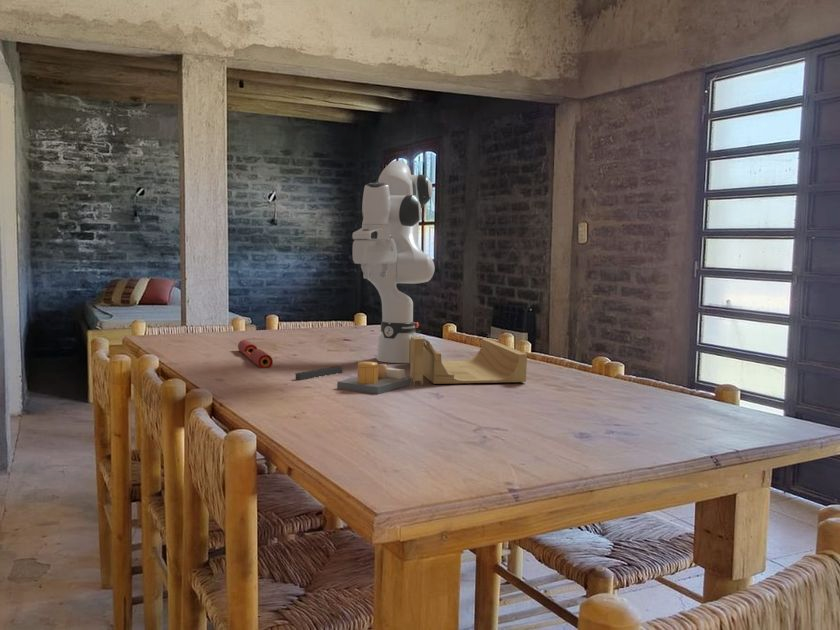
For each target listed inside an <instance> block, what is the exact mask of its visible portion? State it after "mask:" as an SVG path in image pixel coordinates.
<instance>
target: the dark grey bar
mask: <svg viewBox="0 0 840 630" xmlns="http://www.w3.org/2000/svg"><path fill="white" fill-rule="evenodd" d="M336 373H338V374H342V373H343V366H332V367H331V366H330V367H326V368H320V369H315V370H308V371H303V372H296V373H295V380H296V381H304V380H310V379H314V377H316V378H320V377H319V376H321V377H326V376H325V375H327V376H331V375H330V374H332V375H337V374H336ZM309 378H310V379H309Z"/></svg>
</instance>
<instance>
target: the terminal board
mask: <svg viewBox="0 0 840 630" xmlns="http://www.w3.org/2000/svg"><path fill="white" fill-rule="evenodd" d="M408 385H409V386H411V385H412V378H410V377H406V370H405V369H403V368H402V369H401V368H394V367H388V365H387V364H386V363H380V364H378V382H377V383H373V384H363V383H358V382H357V376H356V377H352V378H346V379H343V380H340V381H337V385H336V387H337V388H336V389H338V390H343V391H344V390H345V391H351V392H352V391H353V392H358V393H367V394H373V395H374V394H375V395H379V394H384V393H387V392H390V391H395V390H397V389H398V390H399V389H401V387H402V388H406V387H408Z"/></svg>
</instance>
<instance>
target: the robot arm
mask: <svg viewBox="0 0 840 630" xmlns="http://www.w3.org/2000/svg"><path fill="white" fill-rule="evenodd" d="M432 194H433V184H432V181H431V179H430V177H429V176H428V175H424V174H418V175H417V174H412V172H411V168H410V166H408V164H406V163H405V162H403V161H401V160H396V161H392V162H389V164H388V165H386V166H385V168H384V169H383V170H382V171H381V173H380V175H379V176H378V179H377V180H376V181H375V182H369V183H367V184H365V185H364V187H363V195H362V203H361V216H362V222H361V223H362V224H361V228H359V229H357V230H356V231H354V232H352V236H351V237H352V240H353V242H352V261H353V263H354V264H358V265H360V268H361V272H362V273H363V274H362V275H363V279H364V280H365V279H366V280H367V281H369V282H370V283H371V284H372V285H373V286H374V287H375V288H376V290H377V293H378V295H379V296H380V300H381V301H380V302H381V312H382V313H381V315H382V319H381V321H380V331H381V334H380V335H379V336H378V340H377V349H376V350H377V351H376V355H374V359H375V360H377V361H378V362H381V363H392V364H407V363H408V364H409V339H411V336H412V334H410V333H413V332H412V331H416V329H418V328H419V322H418V321H417V322H415V321H414V301H413V299H412V298H411V297H410V296H409V295H407V294H406V293H404V292H402V291H401V290H399V289H398V287H397V284H411V285H412V284H413V285H414V284H421V283H427V282H428V283H429V281H431V280H432V278H433V276H434V273H435V270H436V269H435V262H434V260H433V259H432V257H431V256H430V255H429V254H427V253H425V252H424V251H423V250H422V249H421V248H420V247H419V244H418V239H419V237H418V236H419V224H420V223H419V221H420V219H421V216H422V209H423V208H424V207H425V205H427V204H428V203H429V201H430V200H431V197H432ZM414 333H416V332H414ZM415 336H416V337H420V335H415ZM415 336H414V335H413V337H415Z"/></svg>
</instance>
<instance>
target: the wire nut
mask: <svg viewBox="0 0 840 630" xmlns="http://www.w3.org/2000/svg"><path fill="white" fill-rule="evenodd" d="M378 365H379V364H378V362H376V361H359V362H358V363H357V376H356V377H357V382H358V383H363V384H373V383H377V382H378Z"/></svg>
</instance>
